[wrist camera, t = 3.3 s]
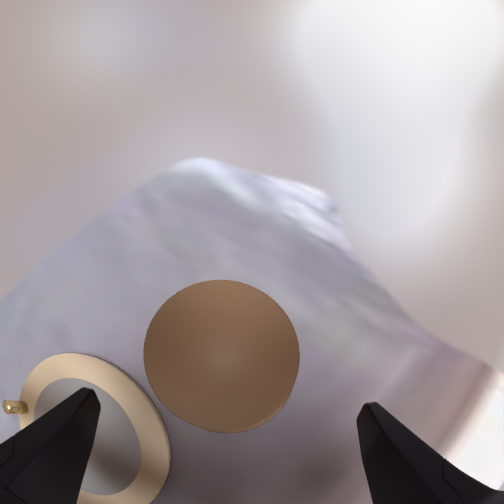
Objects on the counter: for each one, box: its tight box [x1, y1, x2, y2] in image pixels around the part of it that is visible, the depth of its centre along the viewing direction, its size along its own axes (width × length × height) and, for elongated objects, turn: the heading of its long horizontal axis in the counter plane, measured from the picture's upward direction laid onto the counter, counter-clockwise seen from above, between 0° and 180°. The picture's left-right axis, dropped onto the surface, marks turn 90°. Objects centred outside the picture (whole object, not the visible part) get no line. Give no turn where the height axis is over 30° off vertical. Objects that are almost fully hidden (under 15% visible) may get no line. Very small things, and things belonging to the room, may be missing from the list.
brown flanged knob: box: [144, 280, 300, 433], centre depth 12 cm, size 8×8×9 cm
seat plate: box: [3, 353, 171, 504], centre depth 12 cm, size 12×12×3 cm
